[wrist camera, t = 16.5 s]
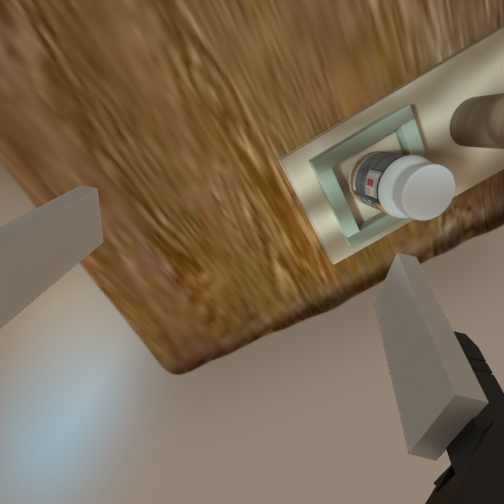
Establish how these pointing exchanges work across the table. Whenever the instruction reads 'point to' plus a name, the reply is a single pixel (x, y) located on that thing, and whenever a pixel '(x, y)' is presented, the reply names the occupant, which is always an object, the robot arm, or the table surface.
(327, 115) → the table surface
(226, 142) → the table surface
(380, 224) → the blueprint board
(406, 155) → the pill bottle
